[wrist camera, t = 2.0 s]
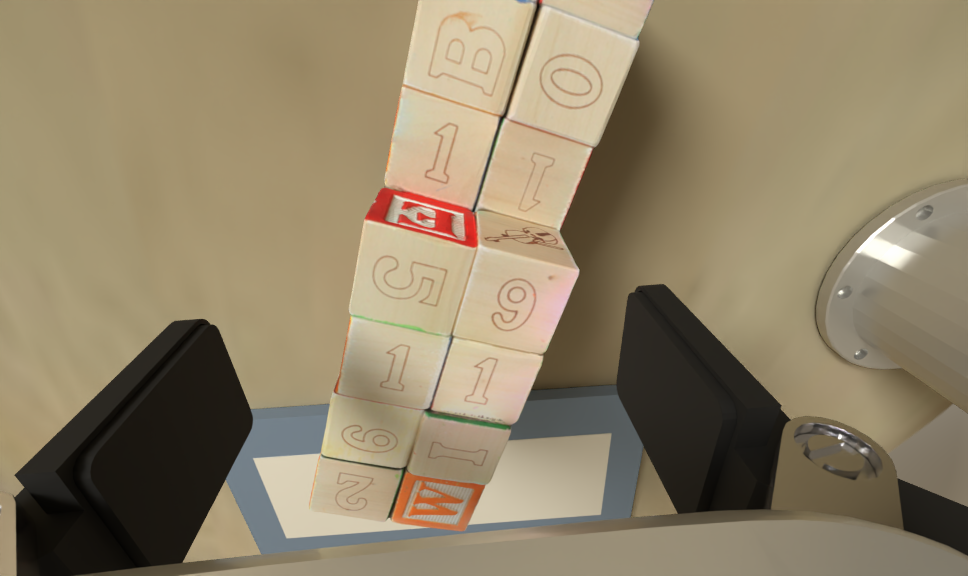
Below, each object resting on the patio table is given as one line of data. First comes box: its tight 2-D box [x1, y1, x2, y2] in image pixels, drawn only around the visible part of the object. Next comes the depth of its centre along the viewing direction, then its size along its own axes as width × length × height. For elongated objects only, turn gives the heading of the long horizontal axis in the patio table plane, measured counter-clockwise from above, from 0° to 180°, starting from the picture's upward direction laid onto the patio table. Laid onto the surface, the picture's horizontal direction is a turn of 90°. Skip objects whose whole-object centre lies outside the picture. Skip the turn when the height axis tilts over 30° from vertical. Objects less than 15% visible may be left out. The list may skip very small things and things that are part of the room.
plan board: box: [226, 385, 643, 554], centre depth 33 cm, size 30×16×1 cm, turn 92°
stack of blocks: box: [309, 0, 654, 531], centre depth 18 cm, size 21×6×12 cm, turn 163°
